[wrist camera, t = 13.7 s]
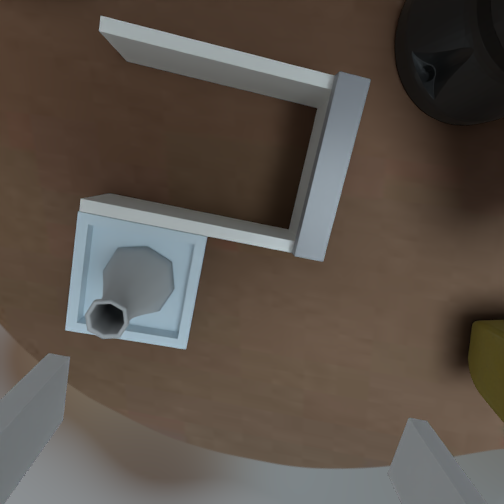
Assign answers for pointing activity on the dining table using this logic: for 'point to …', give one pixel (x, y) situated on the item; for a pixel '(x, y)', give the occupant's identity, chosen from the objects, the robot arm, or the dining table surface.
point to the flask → (130, 290)
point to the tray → (136, 235)
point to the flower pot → (488, 362)
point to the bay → (266, 83)
